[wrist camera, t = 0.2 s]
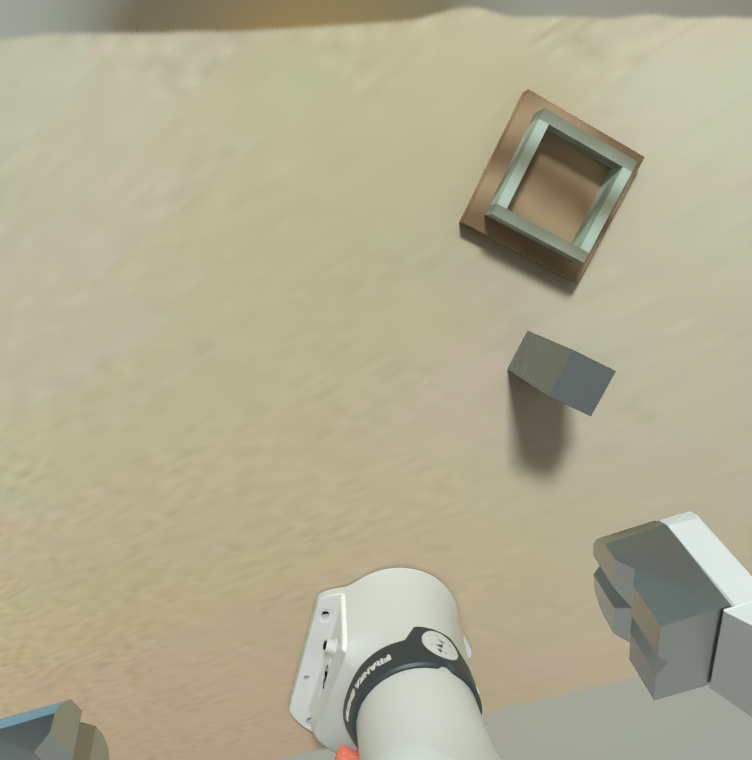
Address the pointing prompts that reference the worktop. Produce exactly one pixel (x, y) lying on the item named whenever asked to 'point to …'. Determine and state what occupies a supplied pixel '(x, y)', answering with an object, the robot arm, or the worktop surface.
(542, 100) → the stand
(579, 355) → the graphite post
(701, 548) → the robot arm
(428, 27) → the worktop surface
